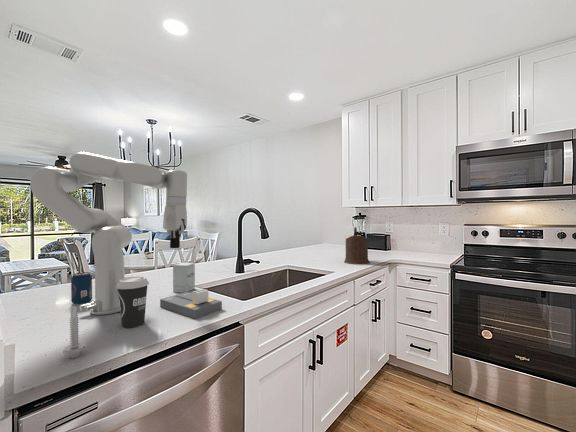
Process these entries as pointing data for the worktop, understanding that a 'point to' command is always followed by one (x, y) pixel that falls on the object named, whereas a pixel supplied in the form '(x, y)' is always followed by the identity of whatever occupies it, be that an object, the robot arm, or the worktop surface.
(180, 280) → the supplement box
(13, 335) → the worktop surface
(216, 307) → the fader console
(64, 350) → the screw
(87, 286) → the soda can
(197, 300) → the fader knob
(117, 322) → the worktop surface
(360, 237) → the dark brown bell
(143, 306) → the coffee cup
